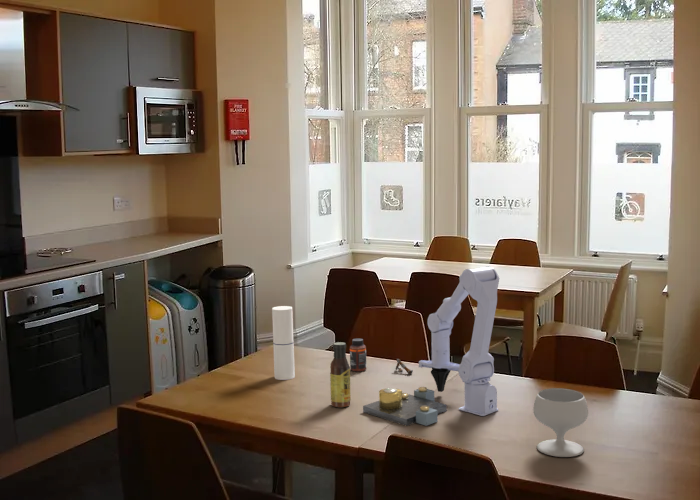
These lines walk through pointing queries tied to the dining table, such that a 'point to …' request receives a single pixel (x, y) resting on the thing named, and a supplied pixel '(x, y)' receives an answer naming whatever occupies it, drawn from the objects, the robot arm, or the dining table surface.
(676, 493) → the dining table surface
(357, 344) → the supplement bottle
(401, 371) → the brown angled frame
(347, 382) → the sauce bottle
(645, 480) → the dining table surface
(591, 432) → the dining table surface
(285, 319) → the cylindrical container
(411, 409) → the base
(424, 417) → the block with brass knob
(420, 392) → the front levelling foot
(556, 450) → the chalice
